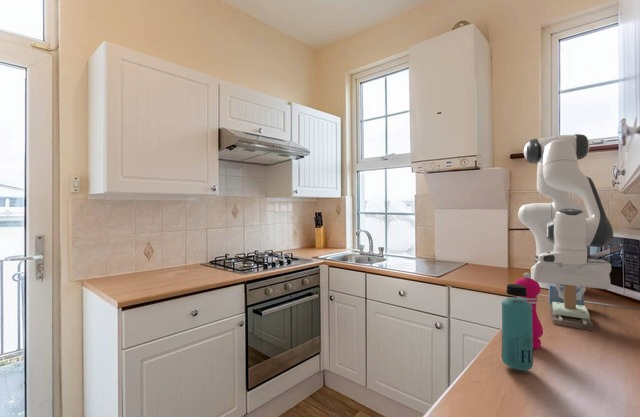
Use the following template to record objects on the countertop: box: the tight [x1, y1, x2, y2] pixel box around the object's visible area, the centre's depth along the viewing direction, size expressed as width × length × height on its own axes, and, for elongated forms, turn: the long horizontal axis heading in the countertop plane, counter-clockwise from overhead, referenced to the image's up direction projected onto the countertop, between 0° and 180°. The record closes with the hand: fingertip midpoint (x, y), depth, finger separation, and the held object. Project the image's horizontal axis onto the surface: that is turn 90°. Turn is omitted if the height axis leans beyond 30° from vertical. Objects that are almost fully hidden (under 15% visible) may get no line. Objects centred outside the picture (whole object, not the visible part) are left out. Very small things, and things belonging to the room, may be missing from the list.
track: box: [549, 303, 595, 331], centre depth 108 cm, size 20×10×2 cm, turn 147°
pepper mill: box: [514, 272, 544, 350], centre depth 88 cm, size 7×7×20 cm
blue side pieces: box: [548, 283, 585, 306], centre depth 119 cm, size 6×10×8 cm, turn 57°
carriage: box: [552, 285, 591, 320], centre depth 107 cm, size 10×9×10 cm
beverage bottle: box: [500, 283, 535, 371], centre depth 75 cm, size 6×7×20 cm
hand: (569, 298), depth 107 cm, fingers closed on carriage, 3 cm apart
